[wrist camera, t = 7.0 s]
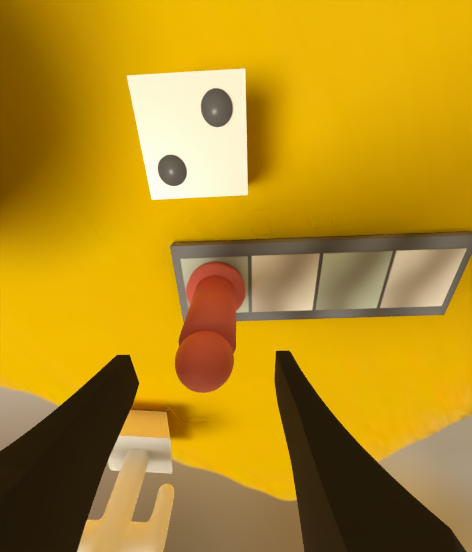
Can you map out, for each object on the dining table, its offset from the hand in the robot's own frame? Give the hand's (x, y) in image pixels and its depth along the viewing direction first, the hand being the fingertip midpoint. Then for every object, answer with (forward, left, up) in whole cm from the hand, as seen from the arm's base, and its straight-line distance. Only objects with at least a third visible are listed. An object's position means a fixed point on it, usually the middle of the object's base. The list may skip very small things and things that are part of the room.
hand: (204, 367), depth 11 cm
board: (-8, 0, -9) cm, 12 cm away
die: (0, -10, -9) cm, 14 cm away
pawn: (0, 0, -8) cm, 8 cm away
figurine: (+10, +20, -9) cm, 24 cm away
